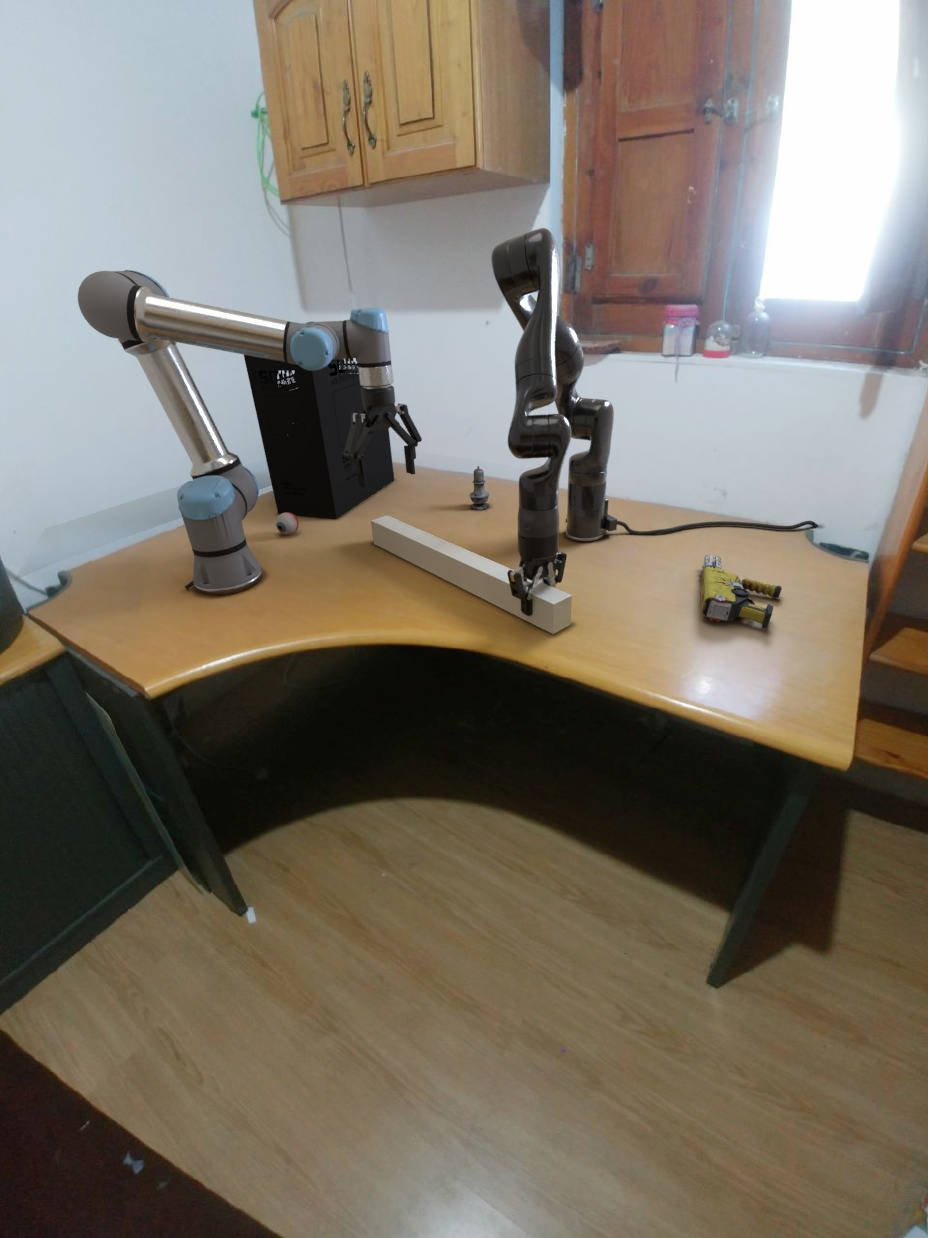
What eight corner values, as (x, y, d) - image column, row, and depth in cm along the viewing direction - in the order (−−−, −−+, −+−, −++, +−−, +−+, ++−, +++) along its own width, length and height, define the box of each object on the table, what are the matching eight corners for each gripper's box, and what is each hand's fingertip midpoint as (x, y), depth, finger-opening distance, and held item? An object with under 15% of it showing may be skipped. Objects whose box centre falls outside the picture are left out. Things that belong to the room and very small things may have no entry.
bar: (570, 624, 116) (572, 595, 113) (553, 634, 114) (553, 604, 110) (389, 538, 159) (387, 515, 156) (373, 543, 156) (370, 520, 153)
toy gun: (779, 564, 127) (705, 551, 131) (794, 614, 107) (705, 598, 111) (772, 584, 129) (699, 571, 133) (786, 637, 109) (699, 620, 113)
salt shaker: (488, 509, 173) (486, 468, 167) (468, 509, 175) (466, 468, 169) (491, 503, 178) (490, 462, 172) (471, 502, 180) (470, 462, 174)
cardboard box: (342, 476, 210) (320, 334, 188) (394, 479, 204) (377, 333, 181) (277, 513, 180) (242, 349, 158) (336, 518, 174) (308, 348, 151)
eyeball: (273, 537, 164) (268, 516, 161) (287, 528, 169) (282, 508, 166) (291, 539, 161) (286, 518, 158) (305, 530, 166) (301, 510, 163)
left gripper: (412, 376, 143) (420, 465, 154) (318, 392, 130) (334, 488, 140) (431, 379, 138) (438, 470, 149) (335, 396, 125) (350, 495, 135)
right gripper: (550, 513, 116) (548, 591, 125) (495, 533, 109) (497, 615, 117) (580, 522, 111) (576, 603, 120) (524, 545, 103) (524, 629, 112)
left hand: (387, 479), depth 144 cm, fingers open, 13 cm apart
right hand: (537, 609), depth 118 cm, fingers closed on bar, 5 cm apart
